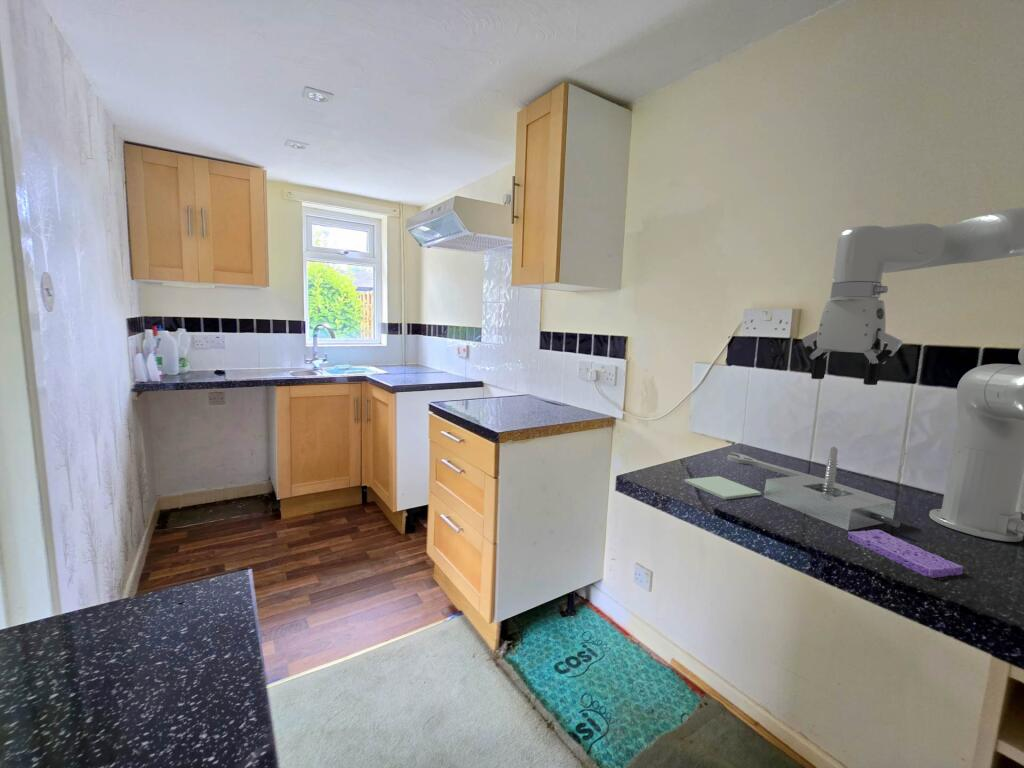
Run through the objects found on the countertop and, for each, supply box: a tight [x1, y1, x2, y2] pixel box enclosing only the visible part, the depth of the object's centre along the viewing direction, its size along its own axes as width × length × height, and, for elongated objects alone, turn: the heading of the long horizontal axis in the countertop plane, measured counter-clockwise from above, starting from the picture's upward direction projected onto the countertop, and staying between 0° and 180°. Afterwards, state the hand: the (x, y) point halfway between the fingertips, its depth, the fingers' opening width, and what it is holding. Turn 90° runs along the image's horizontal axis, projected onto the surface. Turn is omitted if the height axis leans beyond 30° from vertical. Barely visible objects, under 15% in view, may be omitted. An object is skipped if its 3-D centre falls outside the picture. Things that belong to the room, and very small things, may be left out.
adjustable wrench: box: [726, 452, 824, 479], centre depth 117 cm, size 25×6×2 cm, turn 30°
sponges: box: [847, 529, 963, 579], centre depth 72 cm, size 7×13×2 cm, turn 14°
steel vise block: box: [763, 474, 901, 531], centre depth 89 cm, size 20×14×4 cm
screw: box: [823, 446, 839, 496], centre depth 90 cm, size 13×5×5 cm
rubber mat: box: [683, 475, 762, 500], centre depth 99 cm, size 11×11×1 cm
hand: (842, 381), depth 88 cm, fingers open, 9 cm apart
